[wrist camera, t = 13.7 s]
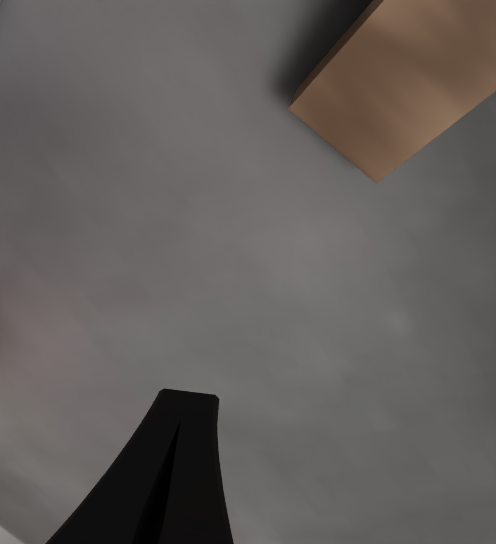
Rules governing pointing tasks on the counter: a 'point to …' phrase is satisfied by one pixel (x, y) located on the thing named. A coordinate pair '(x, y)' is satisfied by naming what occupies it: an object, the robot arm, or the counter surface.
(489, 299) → the counter surface
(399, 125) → the domino
